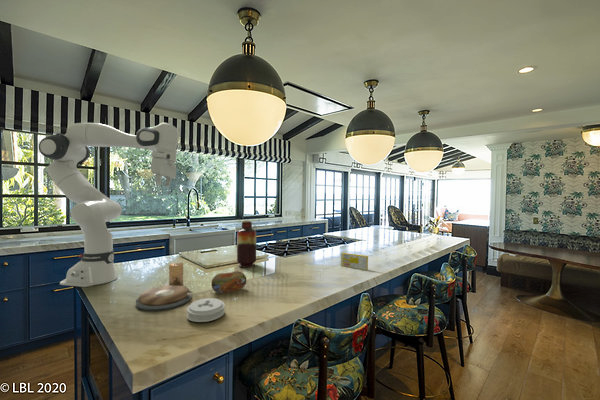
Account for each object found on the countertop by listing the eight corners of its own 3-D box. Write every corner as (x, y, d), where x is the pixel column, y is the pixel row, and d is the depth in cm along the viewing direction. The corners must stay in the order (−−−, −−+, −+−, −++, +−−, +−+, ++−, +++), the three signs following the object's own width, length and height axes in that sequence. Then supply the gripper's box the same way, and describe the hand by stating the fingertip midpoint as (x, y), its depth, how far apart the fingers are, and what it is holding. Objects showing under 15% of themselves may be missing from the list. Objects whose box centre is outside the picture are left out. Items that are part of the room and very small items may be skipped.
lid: (220, 324, 92) (220, 309, 92) (181, 325, 91) (181, 310, 91) (227, 308, 105) (227, 295, 105) (193, 309, 104) (193, 295, 104)
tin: (212, 295, 117) (212, 275, 117) (210, 292, 120) (210, 273, 120) (246, 289, 124) (246, 271, 124) (244, 287, 127) (244, 269, 127)
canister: (166, 287, 125) (166, 265, 125) (172, 283, 131) (172, 262, 131) (179, 288, 125) (179, 266, 125) (185, 283, 131) (185, 262, 131)
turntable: (128, 305, 102) (128, 301, 102) (154, 288, 120) (154, 284, 120) (181, 306, 102) (181, 302, 102) (199, 288, 120) (199, 285, 120)
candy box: (368, 270, 157) (368, 255, 157) (366, 271, 155) (367, 256, 155) (341, 265, 166) (342, 252, 165) (340, 266, 164) (340, 252, 163)
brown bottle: (233, 265, 163) (233, 221, 163) (249, 262, 171) (249, 220, 170) (243, 269, 155) (243, 223, 154) (259, 265, 163) (260, 221, 162)
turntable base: (124, 310, 101) (124, 306, 101) (153, 290, 121) (153, 287, 121) (178, 311, 101) (178, 307, 101) (198, 291, 121) (198, 288, 121)
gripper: (168, 160, 143) (165, 187, 142) (149, 152, 123) (146, 182, 122) (180, 161, 143) (177, 188, 143) (164, 153, 123) (160, 184, 122)
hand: (162, 185), depth 132 cm, fingers open, 8 cm apart
